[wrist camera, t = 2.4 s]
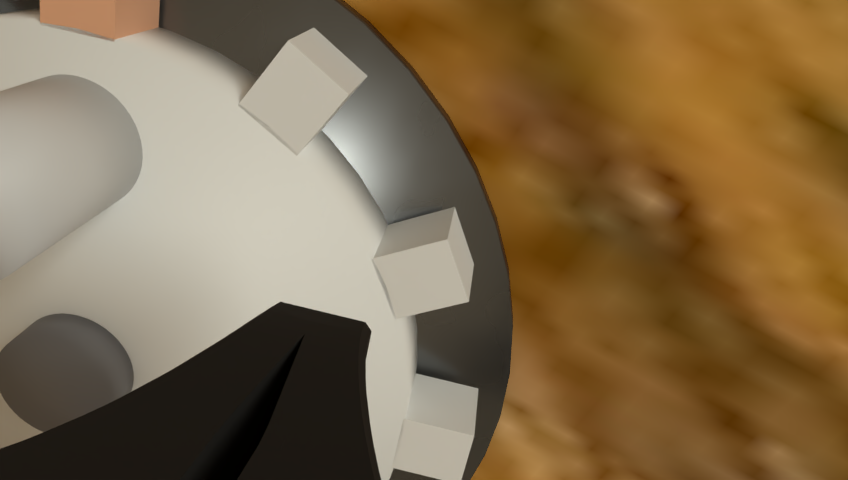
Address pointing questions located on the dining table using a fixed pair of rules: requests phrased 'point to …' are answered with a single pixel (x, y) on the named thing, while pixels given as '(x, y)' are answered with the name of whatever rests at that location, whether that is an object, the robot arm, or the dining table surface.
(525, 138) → the dining table surface
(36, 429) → the sprocket wheel
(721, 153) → the dining table surface
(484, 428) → the wheel base
